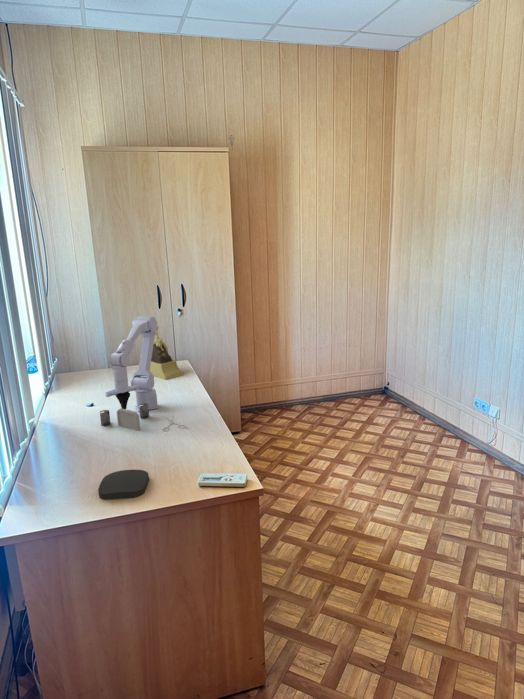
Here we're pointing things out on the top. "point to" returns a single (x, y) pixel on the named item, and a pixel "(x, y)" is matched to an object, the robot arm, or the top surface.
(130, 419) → the light switch
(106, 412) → the post
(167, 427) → the scissors
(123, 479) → the media streaming box
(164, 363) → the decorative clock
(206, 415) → the top surface
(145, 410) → the post
